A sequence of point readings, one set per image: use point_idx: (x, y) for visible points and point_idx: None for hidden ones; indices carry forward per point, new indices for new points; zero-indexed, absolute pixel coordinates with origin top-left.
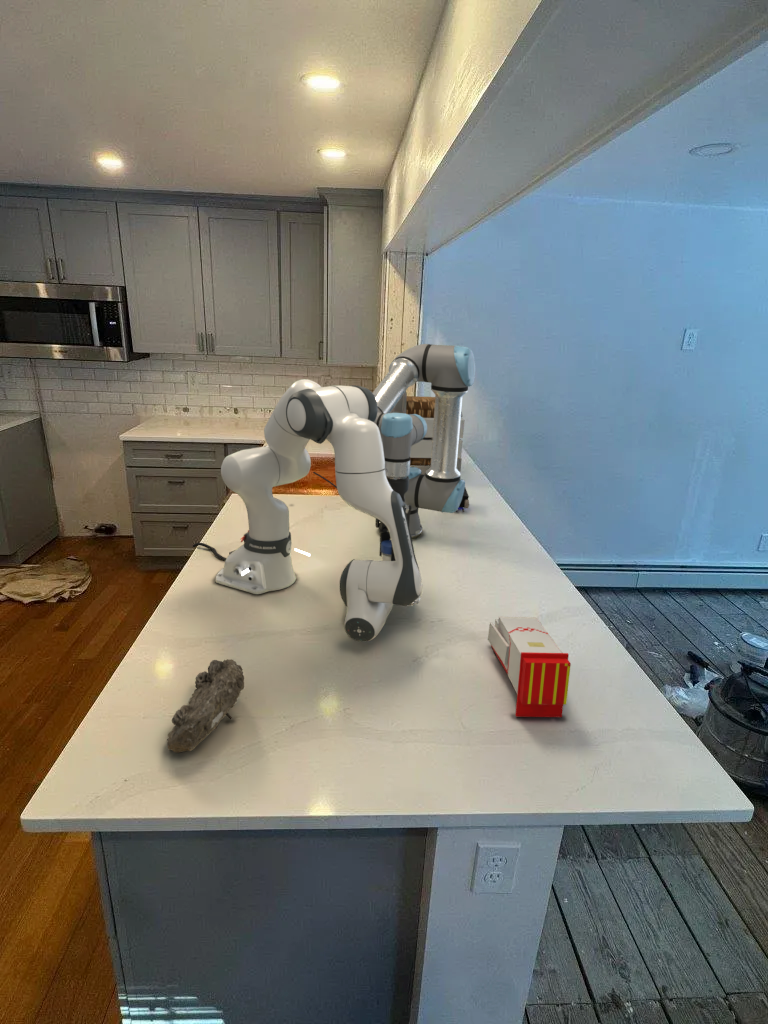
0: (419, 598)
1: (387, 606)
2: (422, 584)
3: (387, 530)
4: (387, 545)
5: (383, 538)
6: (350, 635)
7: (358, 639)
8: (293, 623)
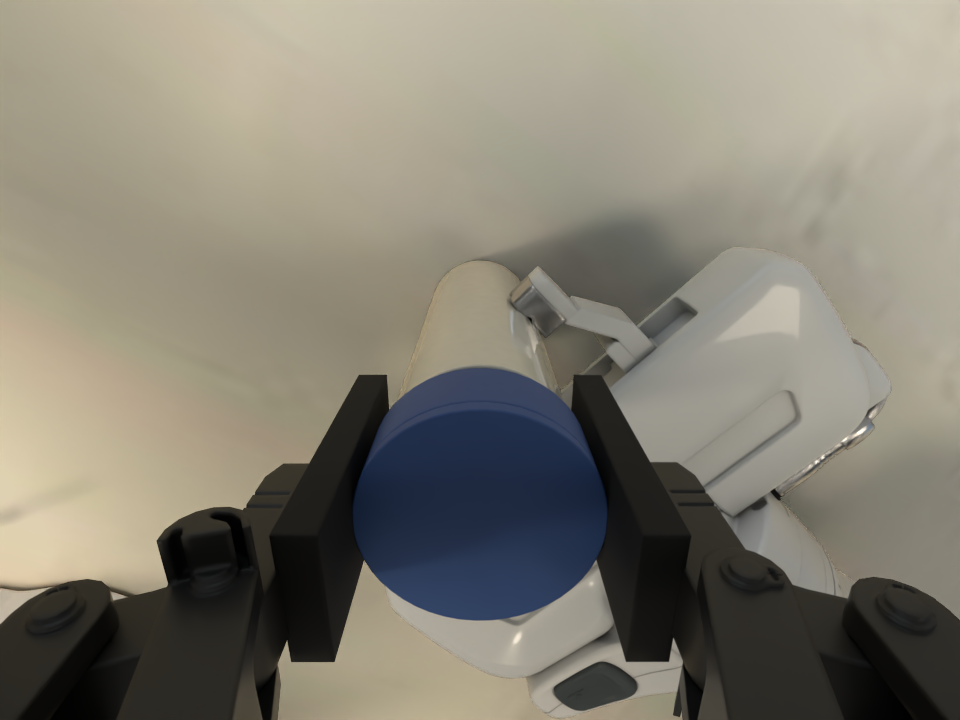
0: (877, 363)
1: (844, 589)
2: (809, 271)
3: (263, 582)
4: (512, 582)
5: (348, 579)
6: None
7: None
8: (483, 704)
